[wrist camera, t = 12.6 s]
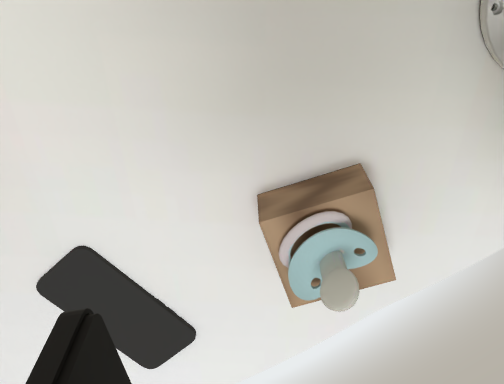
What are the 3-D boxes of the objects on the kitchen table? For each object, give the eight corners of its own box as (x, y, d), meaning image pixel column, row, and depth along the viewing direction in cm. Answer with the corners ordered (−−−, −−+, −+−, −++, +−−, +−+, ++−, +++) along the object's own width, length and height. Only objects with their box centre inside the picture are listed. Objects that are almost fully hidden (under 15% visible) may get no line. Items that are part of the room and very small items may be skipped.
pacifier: (261, 246, 38) (309, 291, 40) (262, 296, 32) (318, 346, 34) (334, 191, 36) (381, 241, 38) (349, 234, 30) (403, 291, 32)
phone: (81, 243, 42) (201, 336, 47) (83, 237, 43) (201, 330, 48) (30, 288, 44) (150, 373, 49) (33, 282, 45) (151, 366, 50)
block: (359, 161, 40) (373, 188, 35) (380, 245, 44) (396, 279, 39) (257, 192, 41) (259, 222, 37) (287, 272, 45) (291, 307, 41)
